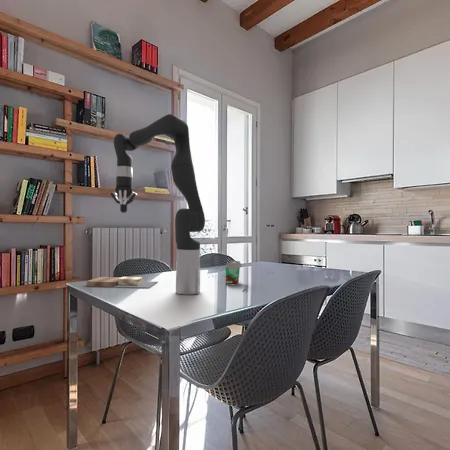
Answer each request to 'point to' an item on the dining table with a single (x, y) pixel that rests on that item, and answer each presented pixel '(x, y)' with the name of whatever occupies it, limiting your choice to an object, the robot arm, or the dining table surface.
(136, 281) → the beech tile
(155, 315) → the dining table surface
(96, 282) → the block
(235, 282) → the food container
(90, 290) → the dining table surface
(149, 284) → the charcoal mat
